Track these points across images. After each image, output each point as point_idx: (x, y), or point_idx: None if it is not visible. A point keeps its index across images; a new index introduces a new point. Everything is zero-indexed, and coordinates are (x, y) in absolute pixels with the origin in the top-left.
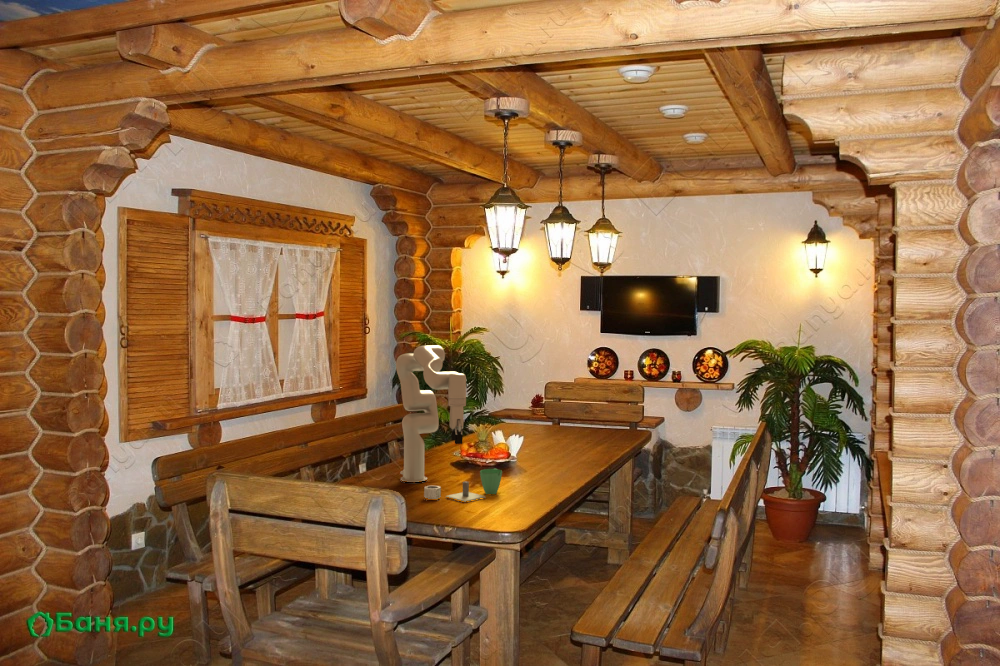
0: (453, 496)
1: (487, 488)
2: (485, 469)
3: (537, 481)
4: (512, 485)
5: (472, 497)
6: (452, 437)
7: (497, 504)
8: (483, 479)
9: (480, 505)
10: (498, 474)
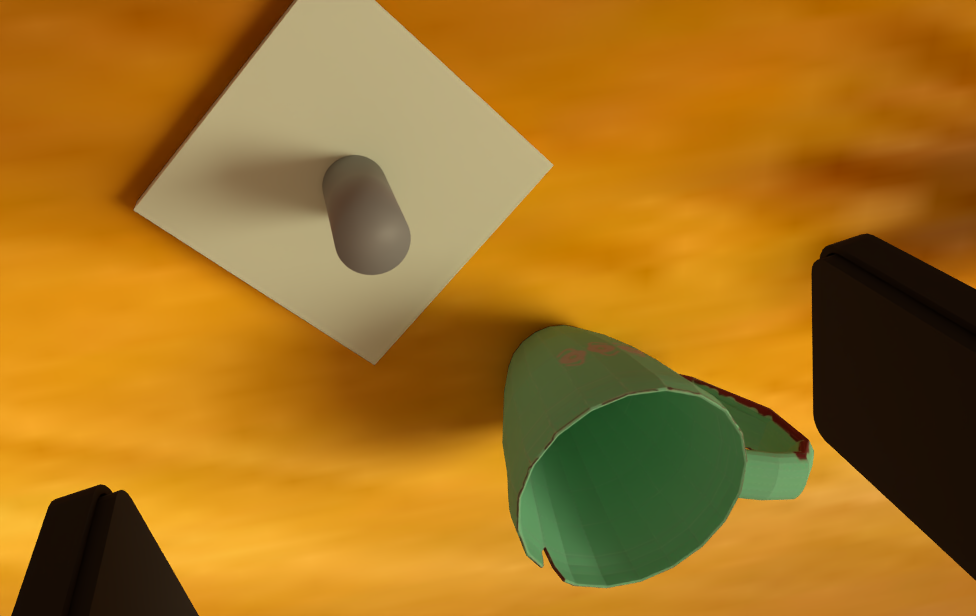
0: (314, 56)
1: (509, 383)
2: (733, 424)
3: (903, 579)
4: (817, 464)
5: (301, 262)
6: (873, 296)
7: (166, 481)
8: (539, 396)
9: (83, 358)
10: (675, 510)
